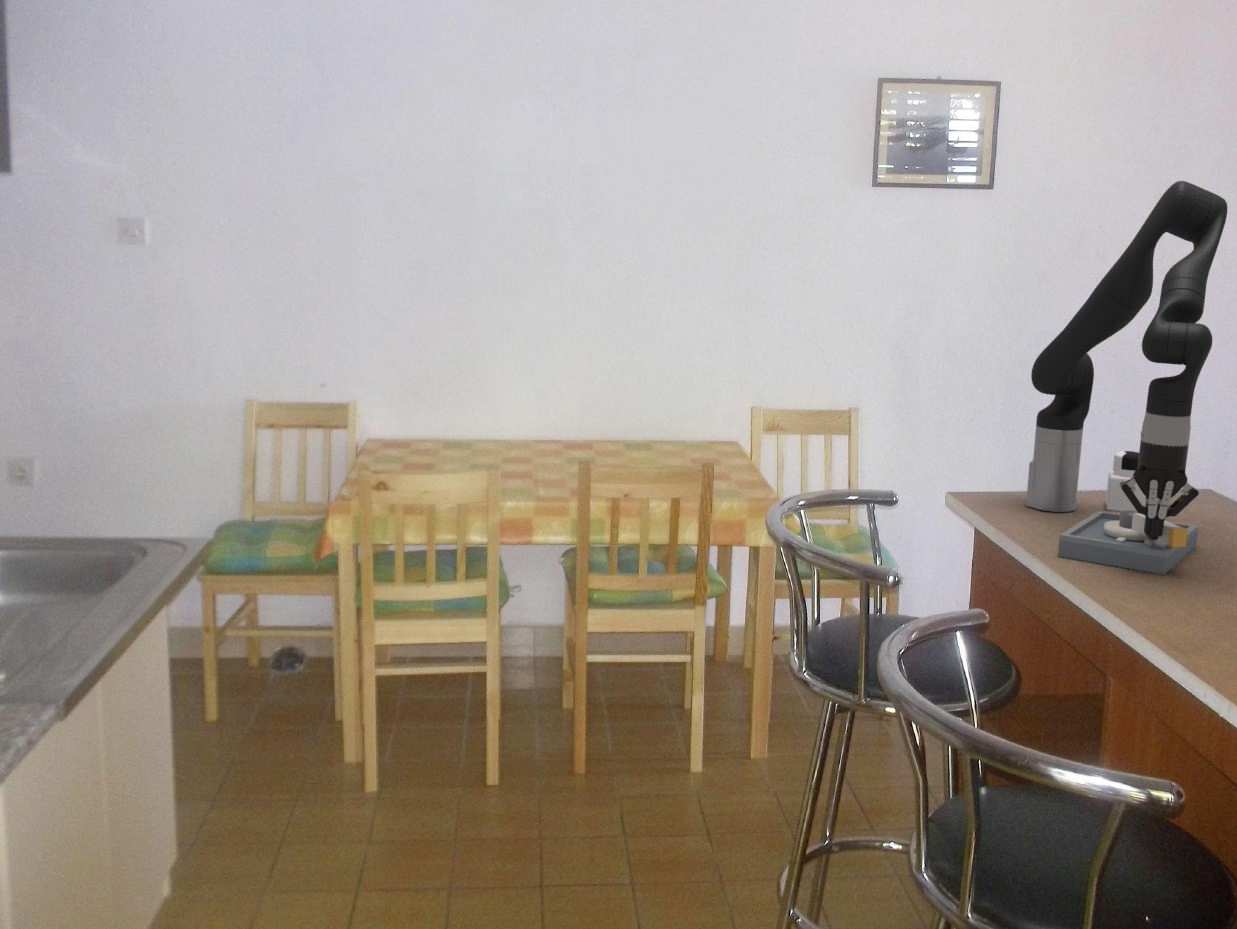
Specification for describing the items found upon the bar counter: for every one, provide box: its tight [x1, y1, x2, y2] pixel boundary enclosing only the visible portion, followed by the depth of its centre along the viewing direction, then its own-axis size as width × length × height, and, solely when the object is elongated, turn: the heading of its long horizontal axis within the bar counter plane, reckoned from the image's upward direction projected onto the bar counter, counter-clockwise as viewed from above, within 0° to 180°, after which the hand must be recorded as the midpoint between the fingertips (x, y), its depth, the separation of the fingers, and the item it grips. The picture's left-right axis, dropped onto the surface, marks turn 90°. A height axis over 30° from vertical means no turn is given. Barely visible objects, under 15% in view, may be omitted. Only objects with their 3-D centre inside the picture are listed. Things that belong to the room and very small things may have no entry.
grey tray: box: [1057, 510, 1199, 576], centre depth 224 cm, size 18×24×4 cm
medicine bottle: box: [1105, 450, 1146, 512], centre depth 257 cm, size 7×7×12 cm
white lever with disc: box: [1104, 511, 1188, 547], centre depth 219 cm, size 18×9×5 cm, turn 11°
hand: (1152, 538), depth 212 cm, fingers closed
